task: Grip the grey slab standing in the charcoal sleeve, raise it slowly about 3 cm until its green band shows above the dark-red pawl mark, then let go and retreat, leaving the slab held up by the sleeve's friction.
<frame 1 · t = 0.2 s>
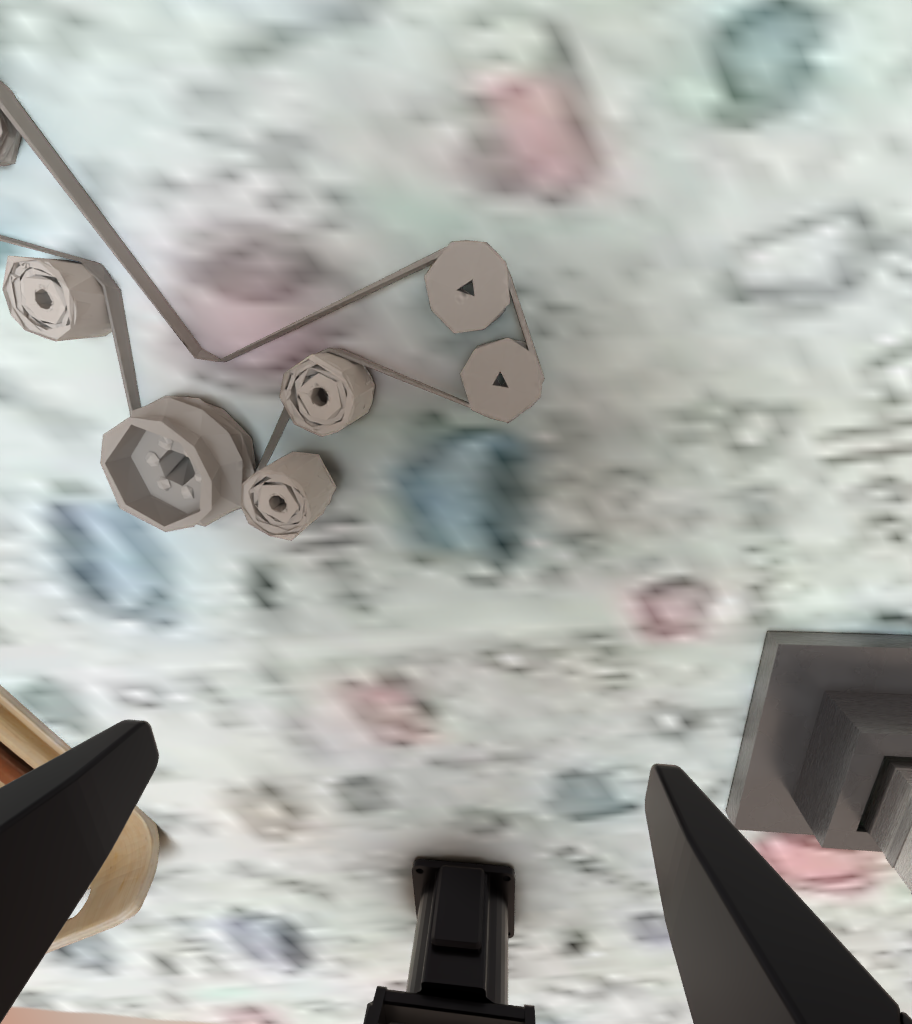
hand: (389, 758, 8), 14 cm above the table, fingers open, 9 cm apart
pulley system: (223, 358, 22), on the table
stand base: (870, 735, 24), on the table
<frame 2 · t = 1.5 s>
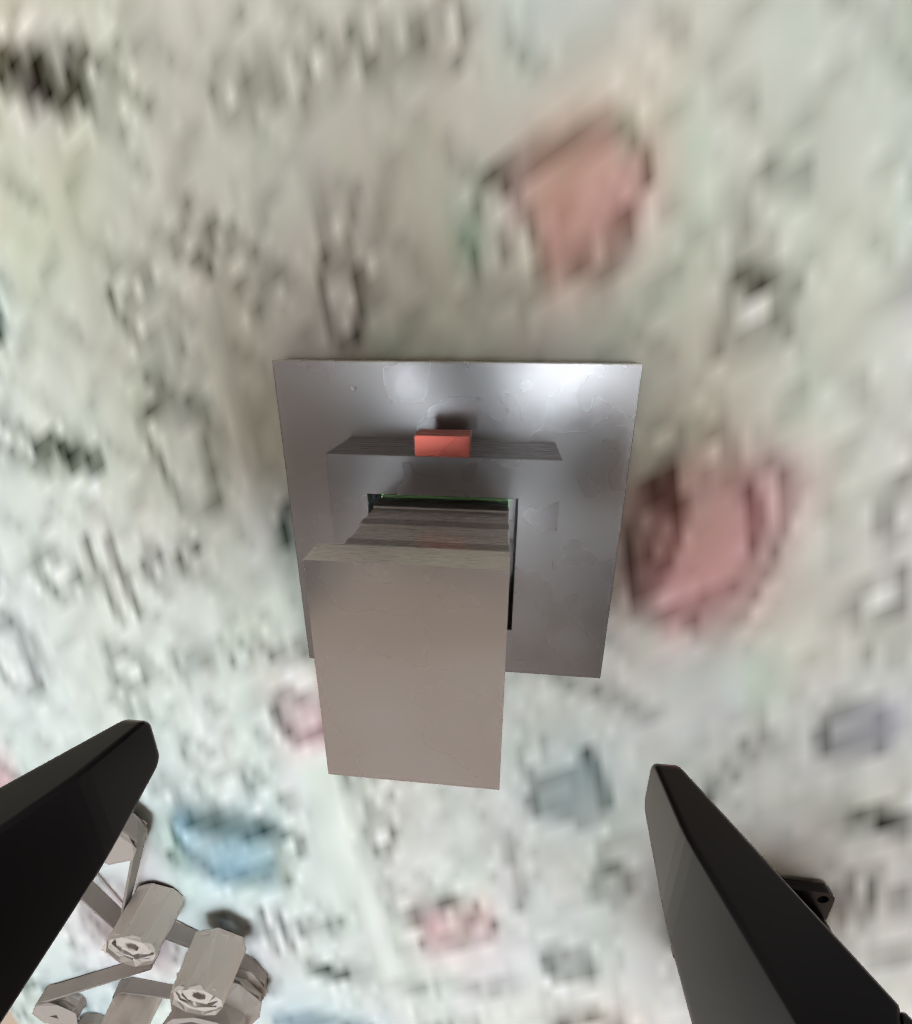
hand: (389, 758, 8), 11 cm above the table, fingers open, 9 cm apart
grey slab: (435, 588, 14), point 5 cm above the table, slide at 0.0 cm
pulley system: (167, 937, 32), on the table
stand base: (453, 523, 19), on the table
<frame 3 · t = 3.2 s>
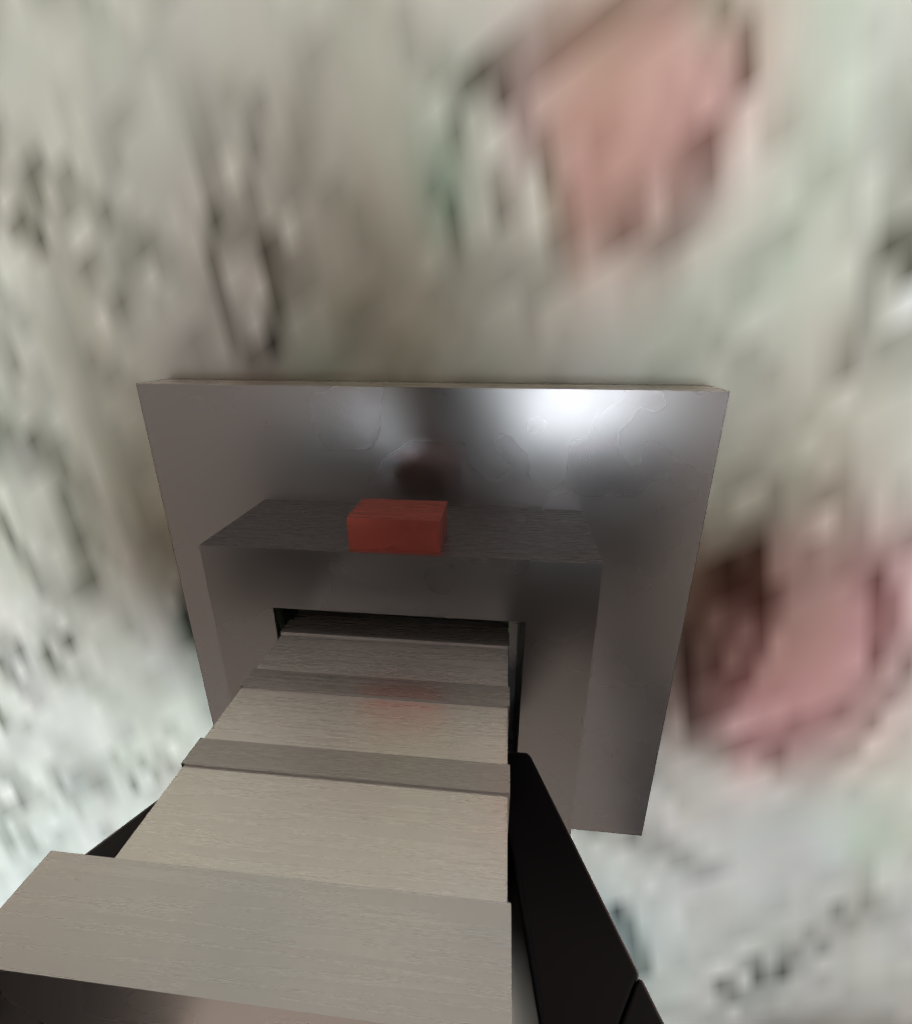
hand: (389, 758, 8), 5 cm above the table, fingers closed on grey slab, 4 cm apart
grey slab: (381, 784, 8), point 5 cm above the table, slide at 0.0 cm, touching gripper
stand base: (428, 616, 13), on the table
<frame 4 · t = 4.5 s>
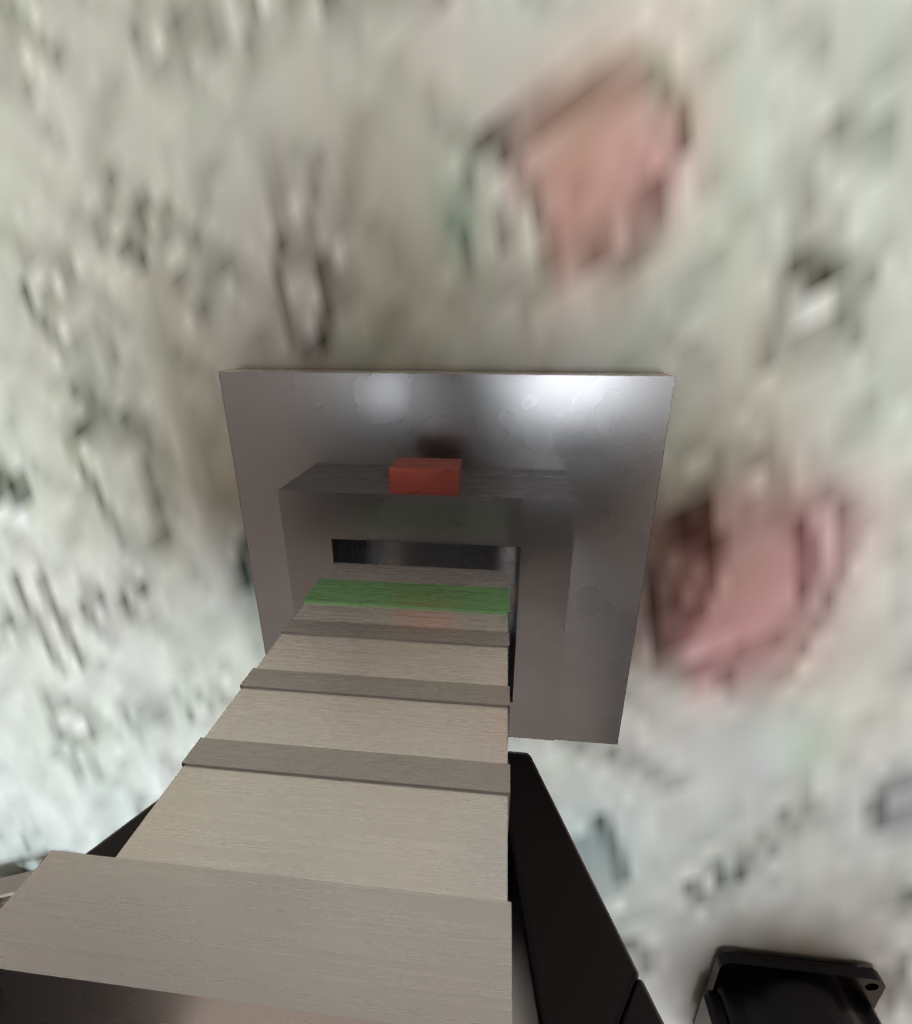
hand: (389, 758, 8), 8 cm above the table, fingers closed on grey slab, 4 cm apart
grey slab: (381, 784, 8), point 8 cm above the table, slide at 3.1 cm, touching gripper
pulley system: (129, 999, 29), on the table
stand base: (443, 563, 16), on the table
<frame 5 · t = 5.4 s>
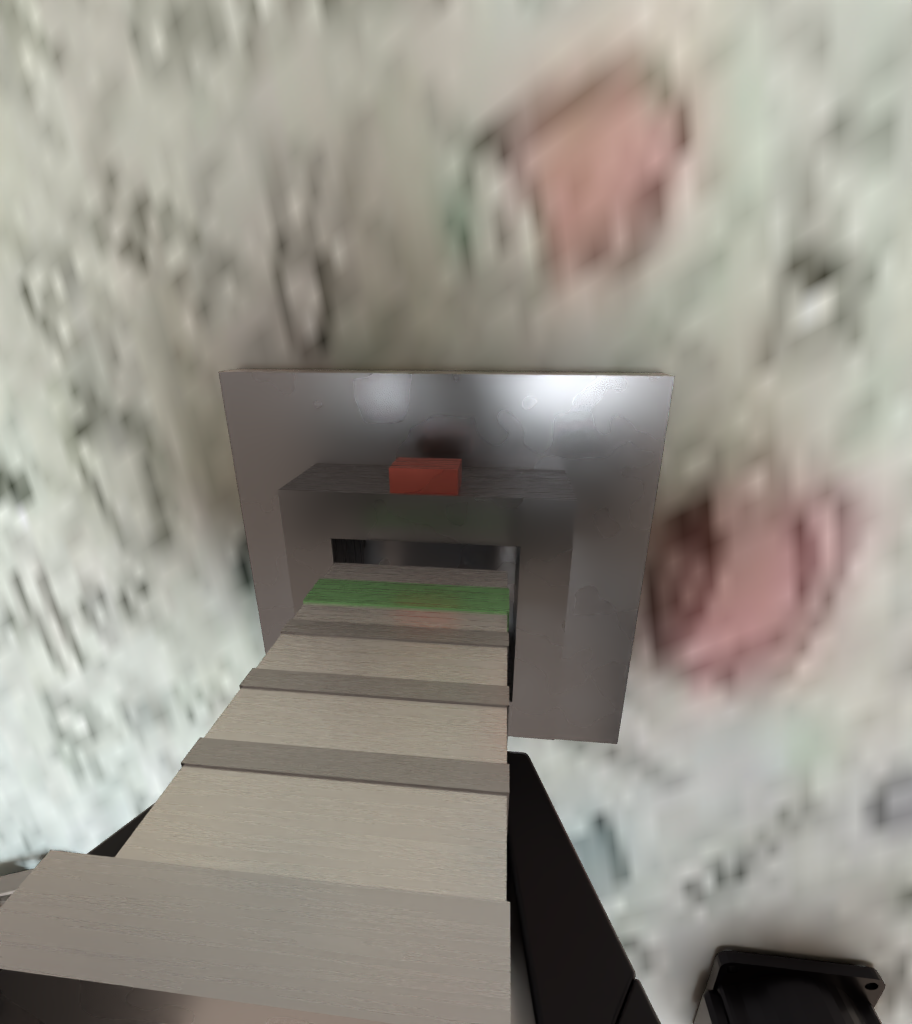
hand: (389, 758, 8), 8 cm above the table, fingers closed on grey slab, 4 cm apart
grey slab: (381, 784, 8), point 8 cm above the table, slide at 3.1 cm, touching gripper
pulley system: (129, 998, 29), on the table
stand base: (443, 562, 16), on the table
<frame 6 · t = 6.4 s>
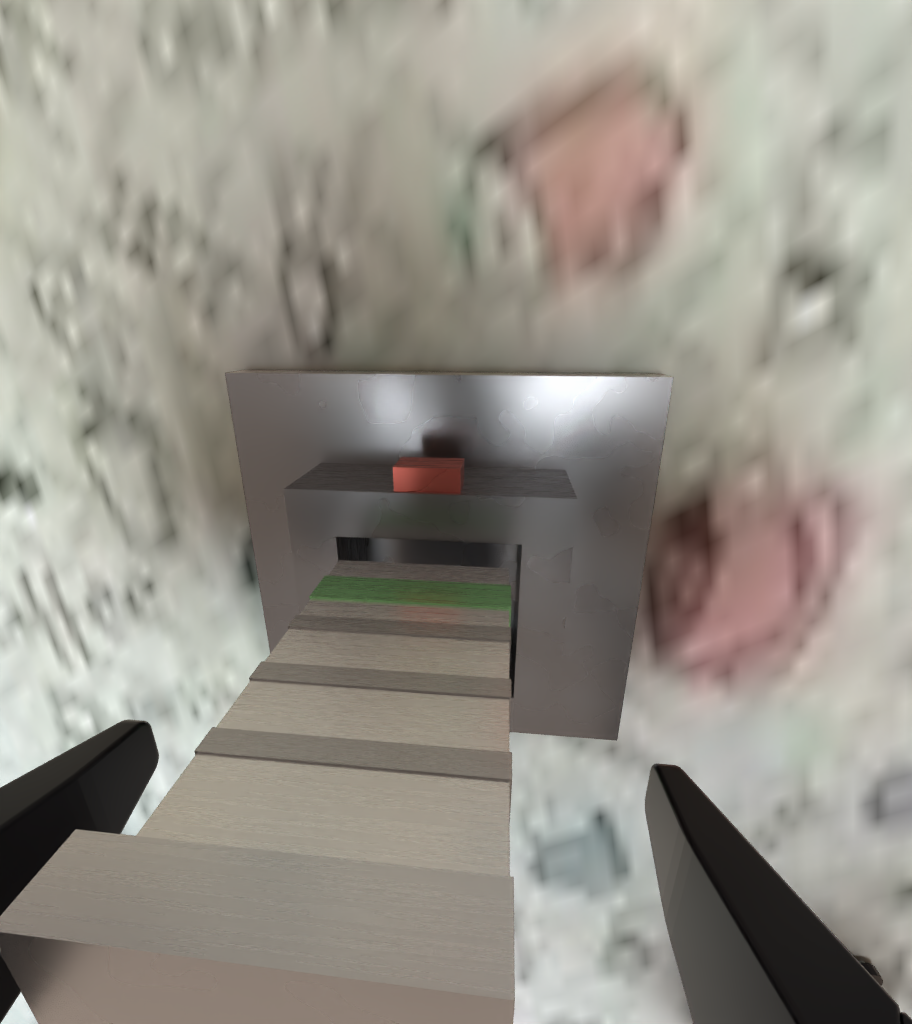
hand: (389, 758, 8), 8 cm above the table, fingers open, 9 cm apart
grey slab: (386, 775, 8), point 8 cm above the table, slide at 3.1 cm
stand base: (445, 561, 16), on the table
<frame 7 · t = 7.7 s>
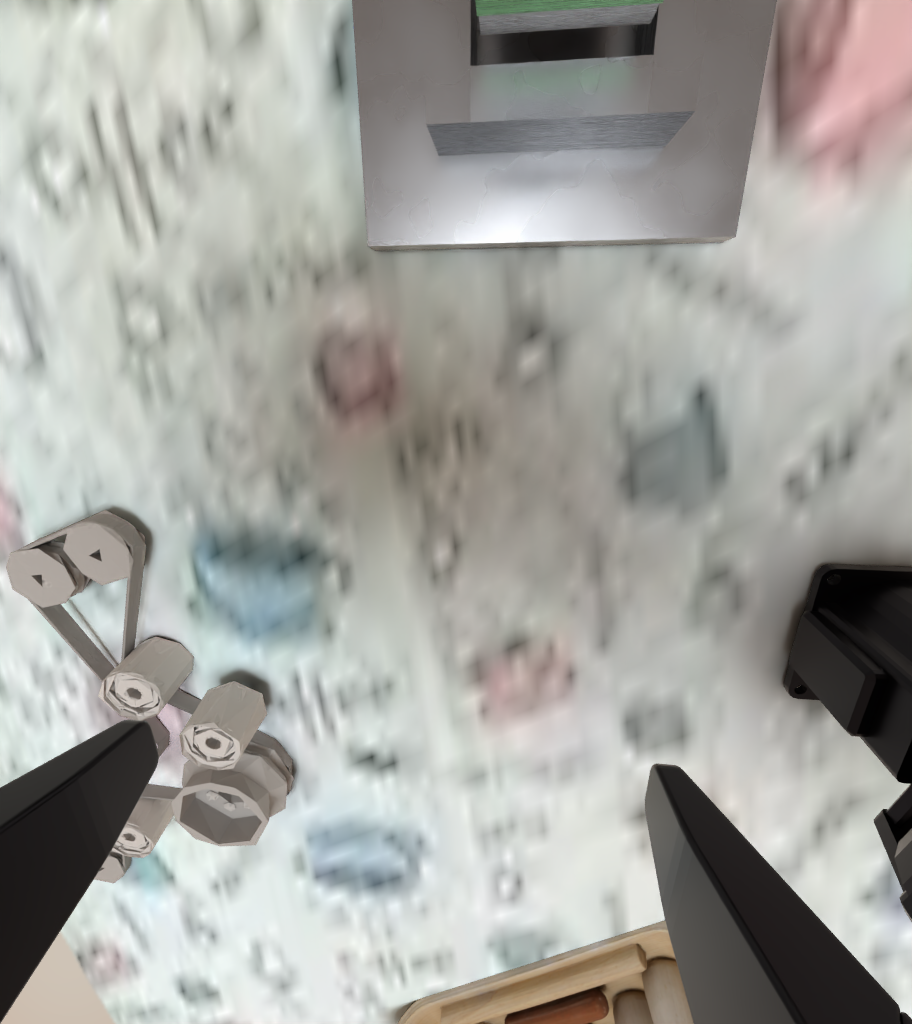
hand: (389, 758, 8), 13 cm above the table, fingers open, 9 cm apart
pulley system: (177, 730, 28), on the table
stand base: (554, 25, 15), on the table
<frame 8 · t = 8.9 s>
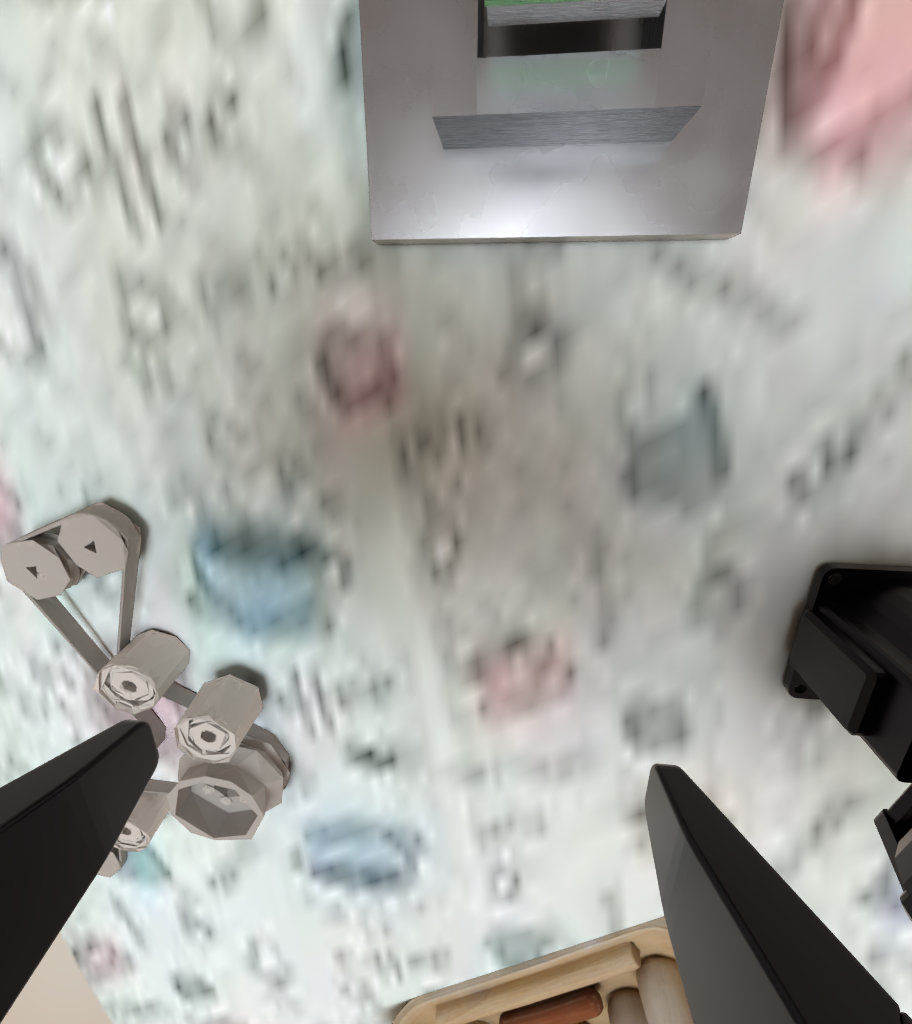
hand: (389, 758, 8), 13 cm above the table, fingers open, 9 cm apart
toy food set: (594, 1023, 34), on the table
pulley system: (174, 723, 28), on the table
stand base: (560, 19, 15), on the table
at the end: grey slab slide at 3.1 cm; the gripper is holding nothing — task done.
